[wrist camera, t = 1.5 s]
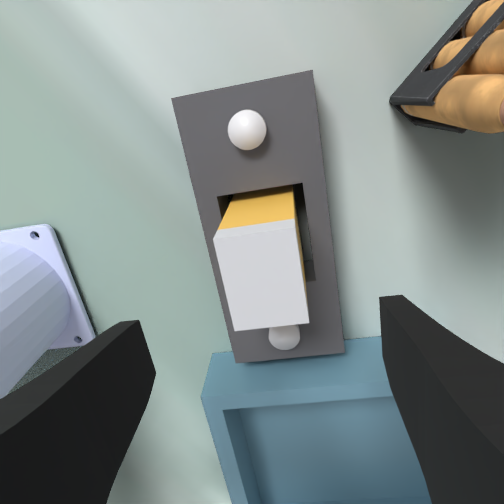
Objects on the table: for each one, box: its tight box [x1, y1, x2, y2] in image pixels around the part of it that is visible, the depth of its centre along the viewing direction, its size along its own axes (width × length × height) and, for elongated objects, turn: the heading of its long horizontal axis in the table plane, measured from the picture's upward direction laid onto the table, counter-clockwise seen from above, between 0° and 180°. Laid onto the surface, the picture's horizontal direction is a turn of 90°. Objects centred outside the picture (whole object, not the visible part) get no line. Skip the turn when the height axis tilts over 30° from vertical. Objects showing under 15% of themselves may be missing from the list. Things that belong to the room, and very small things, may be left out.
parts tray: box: [201, 336, 432, 504], centre depth 25 cm, size 14×14×4 cm
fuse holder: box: [171, 70, 345, 363], centre depth 20 cm, size 6×14×3 cm, turn 10°
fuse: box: [213, 184, 309, 331], centre depth 18 cm, size 3×4×7 cm
